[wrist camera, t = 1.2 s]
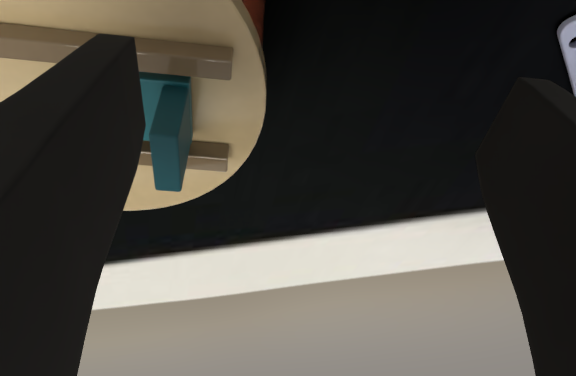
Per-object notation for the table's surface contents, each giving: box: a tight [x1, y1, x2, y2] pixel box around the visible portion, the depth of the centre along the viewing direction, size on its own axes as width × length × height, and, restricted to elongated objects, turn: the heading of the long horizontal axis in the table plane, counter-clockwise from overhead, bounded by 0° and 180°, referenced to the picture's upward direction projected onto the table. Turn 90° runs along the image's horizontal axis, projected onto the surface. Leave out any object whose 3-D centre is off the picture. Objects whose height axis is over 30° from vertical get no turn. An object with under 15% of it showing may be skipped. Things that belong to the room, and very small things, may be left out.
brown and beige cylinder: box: [0, 0, 267, 211], centre depth 16 cm, size 10×10×8 cm
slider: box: [139, 72, 193, 192], centre depth 13 cm, size 3×2×2 cm
